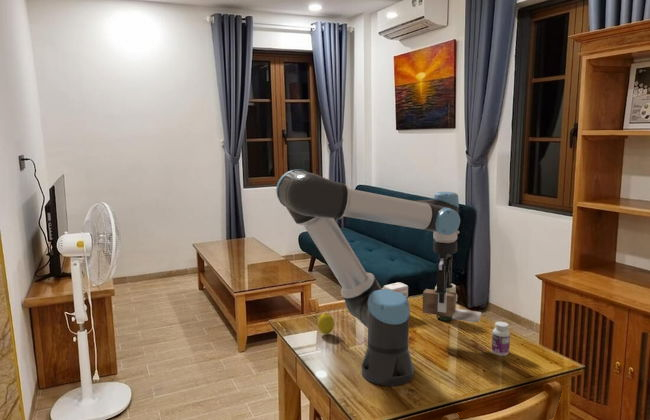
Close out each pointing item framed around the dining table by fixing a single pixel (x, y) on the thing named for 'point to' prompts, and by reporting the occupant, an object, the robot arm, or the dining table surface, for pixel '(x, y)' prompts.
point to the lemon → (325, 323)
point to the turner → (432, 307)
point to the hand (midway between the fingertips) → (443, 309)
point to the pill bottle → (501, 339)
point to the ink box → (397, 288)
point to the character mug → (456, 301)
